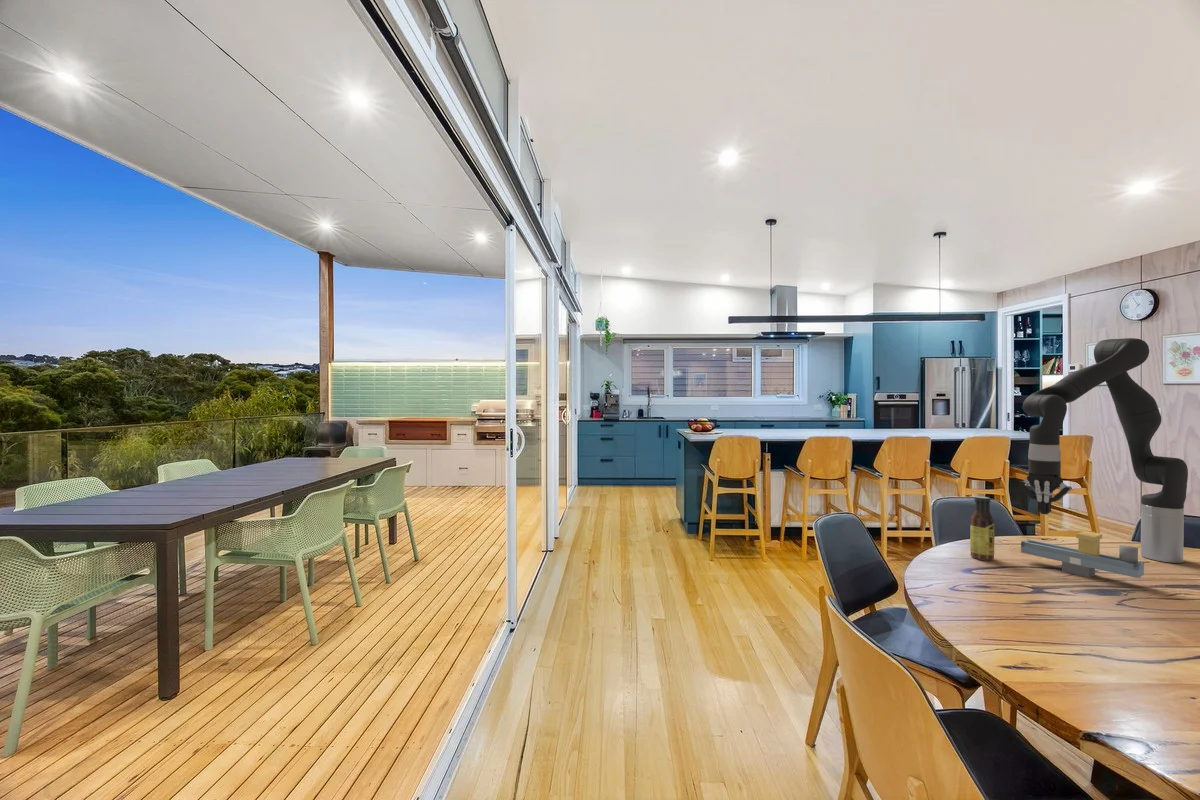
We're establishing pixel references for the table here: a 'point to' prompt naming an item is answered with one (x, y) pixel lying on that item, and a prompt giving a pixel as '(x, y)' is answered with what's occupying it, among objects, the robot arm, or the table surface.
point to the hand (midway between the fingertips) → (1044, 513)
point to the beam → (1087, 559)
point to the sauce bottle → (982, 530)
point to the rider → (1089, 543)
